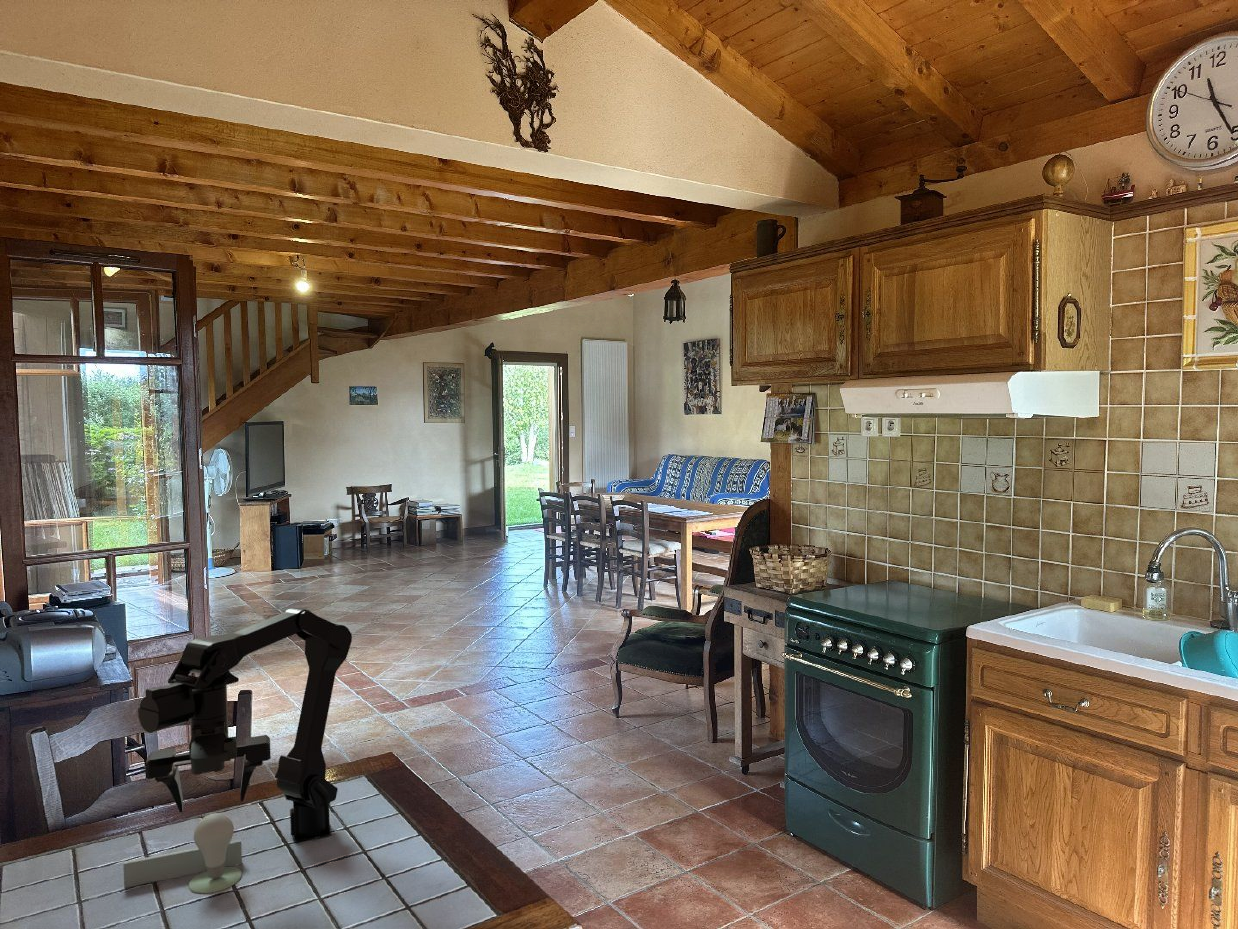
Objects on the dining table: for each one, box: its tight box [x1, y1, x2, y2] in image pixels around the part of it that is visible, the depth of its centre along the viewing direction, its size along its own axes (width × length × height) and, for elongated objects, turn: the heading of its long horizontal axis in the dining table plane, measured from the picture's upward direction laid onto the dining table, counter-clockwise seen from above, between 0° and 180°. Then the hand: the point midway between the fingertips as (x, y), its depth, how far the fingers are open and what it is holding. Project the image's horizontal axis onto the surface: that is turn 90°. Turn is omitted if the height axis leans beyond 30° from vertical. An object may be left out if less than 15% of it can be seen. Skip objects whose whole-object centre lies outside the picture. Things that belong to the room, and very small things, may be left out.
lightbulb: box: [193, 812, 235, 879], centre depth 142 cm, size 6×6×11 cm
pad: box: [188, 866, 242, 894], centre depth 142 cm, size 8×8×1 cm
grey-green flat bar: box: [122, 839, 243, 889], centre depth 145 cm, size 18×1×4 cm, turn 113°
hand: (212, 806), depth 142 cm, fingers open, 9 cm apart
